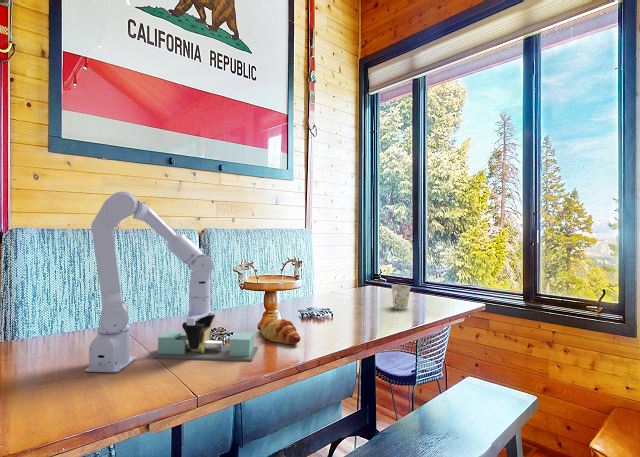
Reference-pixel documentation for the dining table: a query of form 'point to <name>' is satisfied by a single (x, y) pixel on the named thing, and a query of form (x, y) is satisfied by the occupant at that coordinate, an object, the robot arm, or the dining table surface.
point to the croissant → (280, 331)
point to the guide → (176, 349)
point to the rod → (206, 343)
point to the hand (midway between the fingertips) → (198, 343)
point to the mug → (400, 296)
